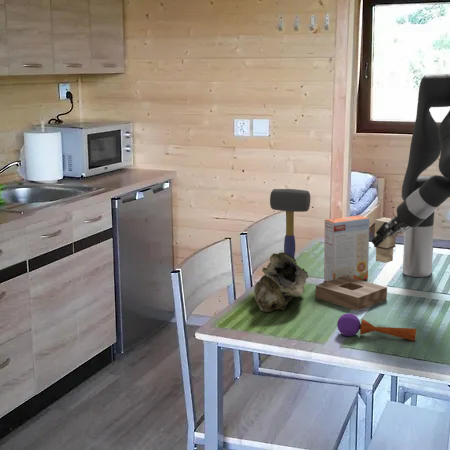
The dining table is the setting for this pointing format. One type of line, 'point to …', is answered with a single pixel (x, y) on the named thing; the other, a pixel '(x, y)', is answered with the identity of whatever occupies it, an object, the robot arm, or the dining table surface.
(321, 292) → the seat board
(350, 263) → the cracker box
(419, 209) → the robot arm
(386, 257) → the beech leg
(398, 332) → the kendama
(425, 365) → the dining table surface
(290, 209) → the rubber mallet
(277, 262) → the hollow geode rock
